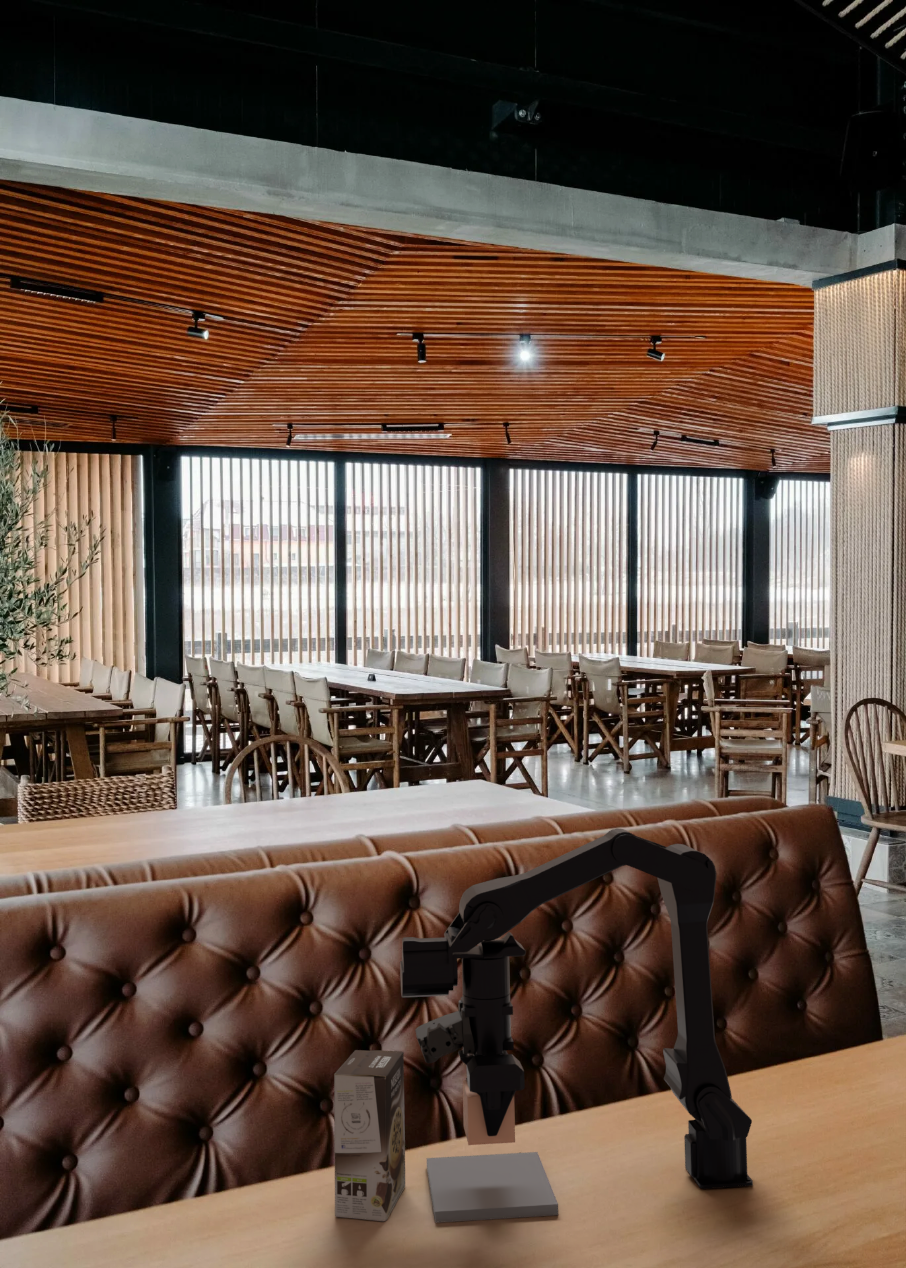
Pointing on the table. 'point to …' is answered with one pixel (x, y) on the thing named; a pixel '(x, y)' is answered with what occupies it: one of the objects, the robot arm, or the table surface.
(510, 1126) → the terracotta block
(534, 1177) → the slate board
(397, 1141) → the coffee box
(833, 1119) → the table surface
